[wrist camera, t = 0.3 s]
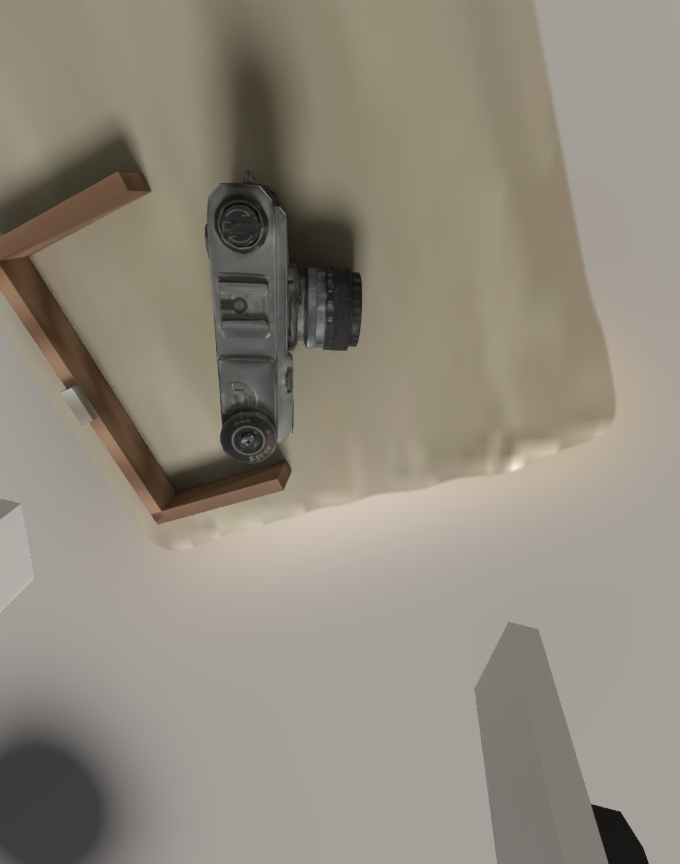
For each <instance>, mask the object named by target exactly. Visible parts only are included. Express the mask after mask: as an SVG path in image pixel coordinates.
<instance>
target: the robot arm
mask: <svg viewBox="0 0 680 864" xmlns="http://www.w3.org/2000/svg"><path fill="white" fill-rule="evenodd" d="M33 579H34V574H33V569H32V563H31V557H30V552H29V546H28V541H27V536H26V530H25V524H24V518H23V513H22V507H21V504H20V503H15V502H11V501H7V500H3V499H0V612H1V611H2V610H3V609H4V608H5V607H6V606H7V605H8V604H9V603H10V602H11V601H12V600H13V599H14V598H15V597H16V596H17V595H18V594H19V593H20V592H21V591H22V590H23V589H24V588H25V587H26V586H27V585H28V584H29V583H30V582H31V581H32V580H33ZM475 696H476V704H477V711H478V718H479V727H480V734H481V742H482V750H483V757H484V765H485V773H486V781H487V788H488V796H489V804H490V811H491V819H492V827H493V834H494V841H495V849H496V857H497V864H649V863H648V860H647V857H646V854H645V852H644V849H643V847H642V845H641V844H640V842H639V841H638V839H637V837H636V836H635V834H634V833H633V831H632V829H631V828H630V826H629V825H628V823H627V822H626V820H625V818H624V817H623V815H622V814H621V812H620V811H615V810H612V809H608V808H604V807H600V806H596V805H592V804H590V800H589V797H588V793H587V790H586V787H585V784H584V780H583V777H582V773H581V770H580V767H579V763H578V760H577V757H576V753H575V750H574V747H573V743H572V740H571V737H570V733H569V730H568V727H567V723H566V720H565V717H564V713H563V710H562V707H561V703H560V700H559V696H558V693H557V690H556V686H555V683H554V680H553V676H552V673H551V670H550V666H549V663H548V660H547V656H546V653H545V650H544V646H543V643H542V640H541V636H540V633H539V630H538V629H535V628H531V627H527V626H523V625H519V624H515V623H510V622H508V624H507V626H506V628H505V630H504V632H503V634H502V636H501V638H500V640H499V642H498V644H497V646H496V647H495V649H494V651H493V654H492V655H491V657H490V659H489V661H488V663H487V665H486V667H485V669H484V671H483V673H482V675H481V677H480V679H479V681H478V683H477V685H476V687H475Z"/></svg>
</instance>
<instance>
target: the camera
mask: <svg viewBox="0 0 680 864" xmlns="http://www.w3.org/2000/svg"><path fill="white" fill-rule="evenodd" d="M287 224H288V222H287V215H286V212H285V210H284V209H282V208H281V207H280V206H279V203H278V198H277V196H276V195H275V194H274V193H273V192H272V191H271V189H270V188H269V187H268V186H262V185H261V184H255V178H254V173H253V172H251V171H248V170H246V172H245V179H244V183H221V184H219V185H218V186H217V188H216V189H215V190H214V191H213V192H212V193H211V194H210V195H209V196H208V210H207V224H206V226H205V242H206V249H207V253H208V257H209V258H210V269H211V283H212V296H213V310H214V323H215V337H216V351H217V364H218V377H219V389H220V403H221V418H222V430H221V434H220V442H221V445H222V447H223V450H224V451H225V452H226V453H227V454H228V455H229V457H230V458H232V459H234V460H236V461H238V462H242V463H250V464H252V463H258V462H261V461H263V460H265V459H267V458H268V457H269V456H270V455H271V454H272V453H273V452H274V450H275V448H276V445H277V443H282V442H283V441H284V440H285V439H286V438H288V437H289V436H290V435H291V434H292V433H293V426H294V402H293V359H292V355H291V354H290V353H289V352H288V351H287V350H294V348H295V346H296V344H297V341H301V340H302V341H304V343H305V346H306V347H307V348H315V347H322V348H323V349H324V350H340V351H344V350H347V349H348V346H354V347H356V345H357V343H358V340H359V335H360V326H361V313H362V281H361V276H360V274H359V273H356V272H350V269H349V267H324V269H317V268H315V267H307V269H306V272H305V276H301V274H299V273H298V271H297V269H296V267H295V263H293V262H292V263H289V259H288V235H287Z"/></svg>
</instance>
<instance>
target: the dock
mask: <svg viewBox="0 0 680 864" xmlns="http://www.w3.org/2000/svg"><path fill="white" fill-rule="evenodd" d="M150 192H151V190H150V188H149V186H148V184H147V182H146V180H145V178H144V176H143V174H141V173H132V172H122V171H117V172H115V173H114V174H112V175H110V176H108V177H106V178H105V179H103V180H101V181H99V182H98V183H96V184H94V185H92V186H90V187H89V188H87V189H85V190H83V191H81V192H80V193H78V194H76V195H74V196H72V197H71V198H69V199H67V200H65V201H63V202H62V203H60V204H58V205H56V206H55V207H53V208H51V209H49V210H47V211H46V212H44V213H42V214H40V215H38V216H37V217H35V218H33V219H31V220H29V221H28V222H26V223H24V224H22V225H20V226H19V227H17V228H15V229H13V230H12V231H10V232H8V233H6V234H4V235H3V236H1V237H0V290H1V291H2V293H3V294H4V296H5V297H6V299H7V300H8V302H9V303H10V305H11V306H12V308H13V309H14V311H15V312H16V314H17V315H18V317H19V318H20V320H21V321H22V323H23V324H24V326H25V327H26V329H27V330H28V332H29V333H30V335H31V336H32V338H33V339H34V341H35V342H36V344H37V345H38V347H39V348H40V350H41V351H42V353H43V354H44V356H45V357H46V359H47V360H48V362H49V363H50V365H51V366H52V368H53V369H54V370H55V372H56V373H57V375H58V376H59V378H60V379H61V381H62V382H63V384H64V385H65V387H66V388H67V389H66V390H64V391H62V392H60V393H61V395H62V396H63V398H64V399H65V401H66V402H67V404H68V405H69V407H70V408H71V410H72V411H73V413H74V414H75V416H76V417H77V419H78V420H79V421H80V423H81V424H82V425H83V424H85V423H88V422H89V423H90V424H91V426H92V427H93V429H94V430H95V432H96V433H97V435H98V436H99V438H100V439H101V441H102V442H103V444H104V445H105V447H106V448H107V450H108V451H109V453H110V454H111V456H112V457H113V459H114V460H115V462H116V463H117V465H118V466H119V468H120V469H121V471H122V472H123V474H124V475H125V477H126V478H127V480H128V481H129V483H130V484H131V486H132V487H133V489H134V490H135V491H136V493H137V494H138V496H139V497H140V499H141V500H142V502H143V503H144V505H145V506H146V508H147V509H148V511H149V512H150V514H151V515H152V517H153V518H154V520H155V521H156V523H157V524H161V523H165V522H168V521H172V520H176V519H179V518H183V517H187V516H190V515H194V514H198V513H201V512H205V511H209V510H212V509H216V508H220V507H224V506H227V505H231V504H235V503H238V502H242V501H246V500H249V499H253V498H257V497H260V496H264V495H268V494H271V493H275V492H279V491H282V490H284V488H285V485H286V483H287V481H288V478H289V476H290V474H291V470H290V468H289V466H288V464H287V462H286V461H283V462H280V463H276V464H273V465H270V466H266V467H263V468H259V469H256V470H252V471H249V472H246V473H242V474H239V475H235V476H232V477H228V478H225V479H222V480H218V481H215V482H211V483H208V484H204V485H201V486H198V487H194V488H191V489H187V490H184V491H180V492H177V493H176V492H175V490H174V488H173V487H172V485H171V484H170V482H169V480H168V479H167V477H166V476H165V474H164V472H163V471H162V469H161V468H160V466H159V464H158V463H157V461H156V460H155V458H154V457H153V455H152V453H151V452H150V450H149V449H148V447H147V445H146V444H145V442H144V441H143V439H142V437H141V436H140V434H139V433H138V431H137V429H136V428H135V426H134V425H133V423H132V422H131V420H130V418H129V417H128V415H127V414H126V412H125V410H124V409H123V407H122V406H121V404H120V402H119V401H118V399H117V398H116V396H115V394H114V393H113V391H112V390H111V388H110V387H109V385H108V383H107V382H106V380H105V379H104V377H103V375H102V374H101V372H100V371H99V369H98V367H97V366H96V364H95V363H94V361H93V359H92V358H91V356H90V355H89V353H88V352H87V350H86V348H85V347H84V345H83V344H82V342H81V340H80V339H79V337H78V336H77V334H76V332H75V331H74V329H73V328H72V326H71V325H70V323H69V321H68V320H67V318H66V317H65V315H64V313H63V312H62V310H61V309H60V307H59V305H58V304H57V302H56V301H55V299H54V297H53V296H52V294H51V293H50V291H49V290H48V288H47V286H46V285H45V283H44V282H43V280H42V278H41V277H40V275H39V274H38V272H37V270H36V269H35V267H34V266H33V264H32V262H31V261H30V259H29V258H28V256H30V255H32V254H34V253H36V252H38V251H40V250H42V249H44V248H46V247H47V246H49V245H51V244H53V243H55V242H57V241H59V240H61V239H63V238H64V237H66V236H68V235H70V234H72V233H74V232H76V231H78V230H80V229H81V228H83V227H85V226H87V225H89V224H91V223H93V222H95V221H97V220H99V219H100V218H102V217H104V216H106V215H108V214H110V213H112V212H114V211H116V210H117V209H119V208H121V207H123V206H125V205H127V204H129V203H131V202H133V201H134V200H136V199H138V198H140V197H142V196H144V195H146V194H148V193H150Z"/></svg>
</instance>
